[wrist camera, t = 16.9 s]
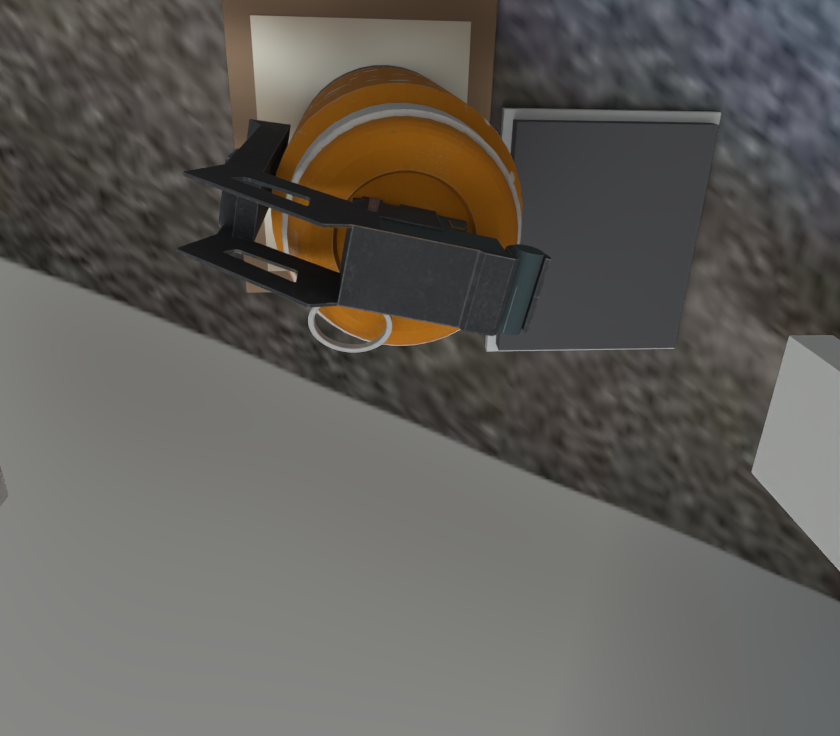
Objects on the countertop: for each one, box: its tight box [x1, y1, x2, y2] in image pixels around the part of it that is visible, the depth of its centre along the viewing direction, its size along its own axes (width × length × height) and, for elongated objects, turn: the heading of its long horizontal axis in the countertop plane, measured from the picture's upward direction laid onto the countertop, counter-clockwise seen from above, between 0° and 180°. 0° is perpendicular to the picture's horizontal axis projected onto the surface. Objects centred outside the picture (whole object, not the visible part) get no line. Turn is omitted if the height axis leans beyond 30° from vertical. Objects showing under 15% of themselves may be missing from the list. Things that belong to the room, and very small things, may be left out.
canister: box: [176, 65, 551, 352], centre depth 27 cm, size 9×11×20 cm
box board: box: [222, 0, 498, 292], centre depth 37 cm, size 15×13×1 cm
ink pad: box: [485, 108, 721, 351], centre depth 39 cm, size 14×12×2 cm
